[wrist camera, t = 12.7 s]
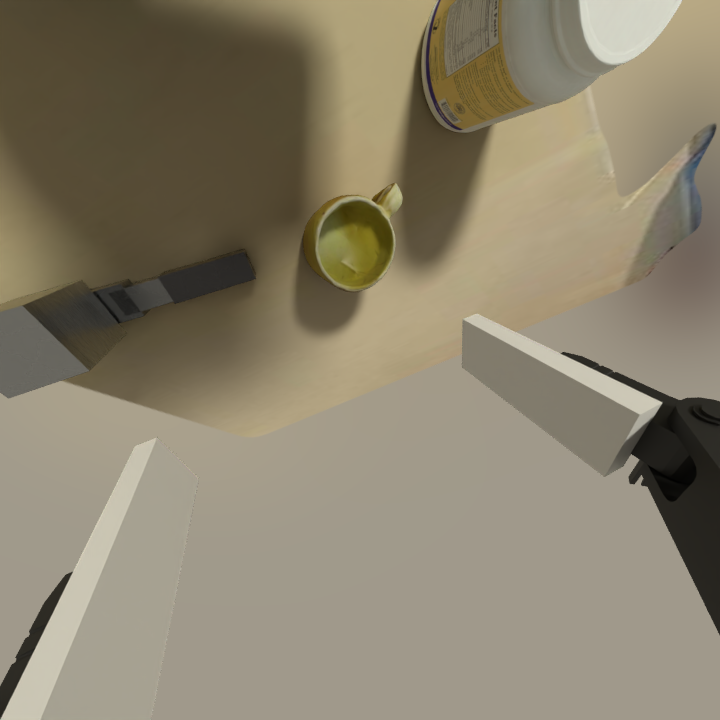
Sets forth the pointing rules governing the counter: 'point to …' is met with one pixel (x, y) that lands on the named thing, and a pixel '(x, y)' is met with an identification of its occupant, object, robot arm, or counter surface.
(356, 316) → the counter surface
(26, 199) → the counter surface
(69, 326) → the grey block
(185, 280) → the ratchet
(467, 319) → the robot arm
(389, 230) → the mug
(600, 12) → the supplement tub
